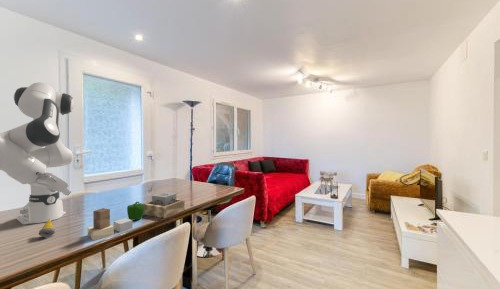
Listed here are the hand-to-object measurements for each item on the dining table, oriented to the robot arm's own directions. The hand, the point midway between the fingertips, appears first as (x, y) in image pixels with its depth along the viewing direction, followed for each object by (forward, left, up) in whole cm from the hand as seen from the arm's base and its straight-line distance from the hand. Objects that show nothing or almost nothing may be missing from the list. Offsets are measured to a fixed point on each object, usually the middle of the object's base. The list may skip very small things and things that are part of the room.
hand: (61, 192), depth 90 cm
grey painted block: (+5, +23, -23) cm, 33 cm away
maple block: (+2, +14, -23) cm, 27 cm away
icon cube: (+3, +53, -23) cm, 58 cm away
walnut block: (+3, +14, -19) cm, 24 cm away
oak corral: (+4, +51, -23) cm, 56 cm away
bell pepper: (-1, +35, -23) cm, 42 cm away
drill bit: (-19, +3, -23) cm, 30 cm away
